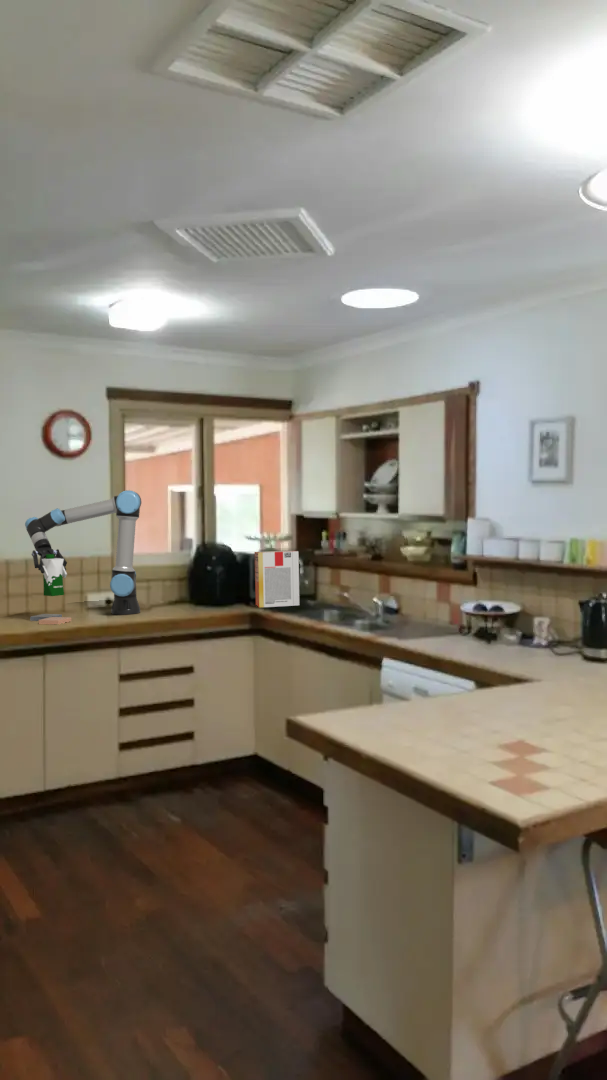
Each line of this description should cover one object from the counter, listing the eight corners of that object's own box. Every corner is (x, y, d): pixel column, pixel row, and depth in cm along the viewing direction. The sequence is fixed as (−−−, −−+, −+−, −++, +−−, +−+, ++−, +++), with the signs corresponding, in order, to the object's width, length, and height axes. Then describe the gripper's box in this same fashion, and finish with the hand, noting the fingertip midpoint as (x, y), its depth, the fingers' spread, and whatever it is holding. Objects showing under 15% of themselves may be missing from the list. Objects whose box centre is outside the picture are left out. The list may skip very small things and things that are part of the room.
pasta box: (295, 603, 479) (294, 550, 478) (299, 605, 472) (298, 551, 470) (255, 605, 473) (254, 551, 471) (259, 607, 465) (258, 552, 464)
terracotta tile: (71, 621, 422) (71, 617, 422) (58, 624, 411) (58, 620, 411) (52, 620, 425) (52, 616, 425) (38, 624, 415) (38, 619, 415)
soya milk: (55, 593, 424) (54, 553, 423) (67, 594, 419) (65, 554, 418) (40, 595, 417) (39, 554, 416) (52, 596, 412) (50, 555, 411)
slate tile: (61, 618, 434) (61, 614, 434) (48, 621, 424) (48, 617, 424) (43, 617, 438) (43, 613, 438) (30, 620, 428) (30, 616, 428)
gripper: (59, 547, 436) (74, 580, 424) (18, 549, 421) (33, 583, 410) (63, 537, 431) (79, 570, 420) (22, 538, 417) (37, 573, 406)
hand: (56, 576), depth 415 cm, fingers closed on soya milk, 9 cm apart
